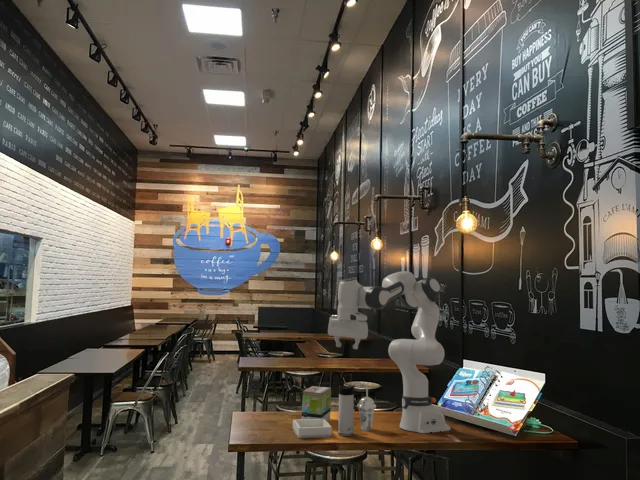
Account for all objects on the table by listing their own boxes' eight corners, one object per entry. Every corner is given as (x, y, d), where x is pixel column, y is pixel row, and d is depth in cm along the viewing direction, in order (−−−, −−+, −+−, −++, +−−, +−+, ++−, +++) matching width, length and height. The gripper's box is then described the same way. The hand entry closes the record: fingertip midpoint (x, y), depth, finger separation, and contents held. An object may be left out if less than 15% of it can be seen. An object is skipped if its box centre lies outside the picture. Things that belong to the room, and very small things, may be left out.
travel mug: (352, 437, 210) (353, 387, 213) (337, 435, 212) (338, 386, 214) (354, 433, 217) (355, 385, 219) (339, 431, 218) (340, 384, 220)
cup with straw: (367, 433, 217) (367, 385, 219) (351, 428, 224) (352, 382, 226) (379, 429, 223) (380, 383, 225) (364, 425, 230) (365, 380, 232)
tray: (324, 428, 223) (324, 418, 224) (331, 437, 210) (331, 427, 210) (292, 429, 220) (292, 419, 221) (298, 438, 207) (298, 428, 207)
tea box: (322, 426, 226) (322, 392, 228) (300, 424, 229) (301, 390, 231) (330, 418, 241) (331, 386, 242) (310, 416, 243) (311, 385, 245)
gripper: (325, 314, 226) (324, 346, 224) (361, 316, 211) (360, 350, 210) (334, 314, 230) (333, 345, 229) (370, 316, 216) (369, 349, 215)
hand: (346, 347), depth 219 cm, fingers open, 8 cm apart
